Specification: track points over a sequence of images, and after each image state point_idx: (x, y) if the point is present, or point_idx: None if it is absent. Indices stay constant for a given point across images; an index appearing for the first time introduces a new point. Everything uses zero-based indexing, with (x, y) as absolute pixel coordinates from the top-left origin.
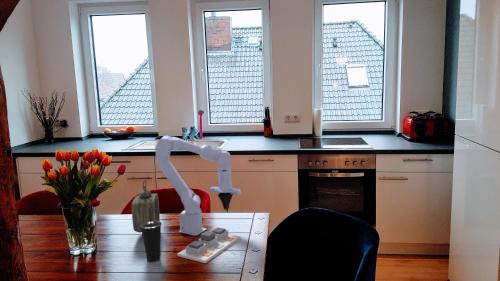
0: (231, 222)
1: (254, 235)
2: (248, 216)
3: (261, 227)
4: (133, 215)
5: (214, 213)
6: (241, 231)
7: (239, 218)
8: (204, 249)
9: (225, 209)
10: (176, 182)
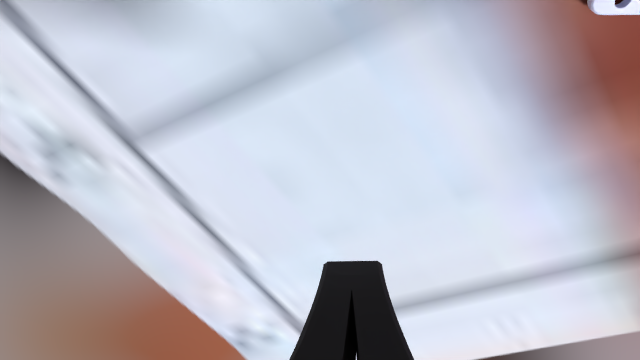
0: (407, 240)
1: (37, 96)
2: None
3: (134, 240)
4: None
5: (632, 322)
6: (203, 124)
7: None
8: None
9: (344, 265)
10: None
